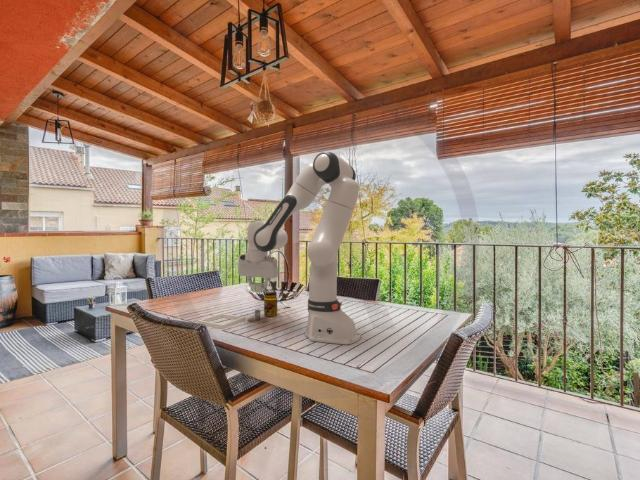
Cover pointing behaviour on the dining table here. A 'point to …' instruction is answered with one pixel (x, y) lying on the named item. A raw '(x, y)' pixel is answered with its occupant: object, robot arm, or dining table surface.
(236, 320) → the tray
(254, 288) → the ring
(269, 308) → the condiment
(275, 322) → the dining table surface
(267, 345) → the dining table surface
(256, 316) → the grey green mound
